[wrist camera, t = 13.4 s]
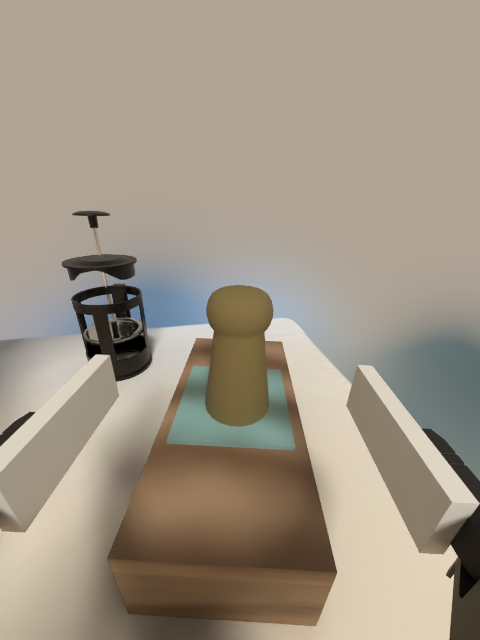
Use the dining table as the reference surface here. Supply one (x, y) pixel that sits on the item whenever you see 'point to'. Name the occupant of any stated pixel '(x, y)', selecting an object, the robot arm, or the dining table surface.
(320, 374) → the dining table surface
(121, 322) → the french press
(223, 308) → the cork
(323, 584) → the wooden block
